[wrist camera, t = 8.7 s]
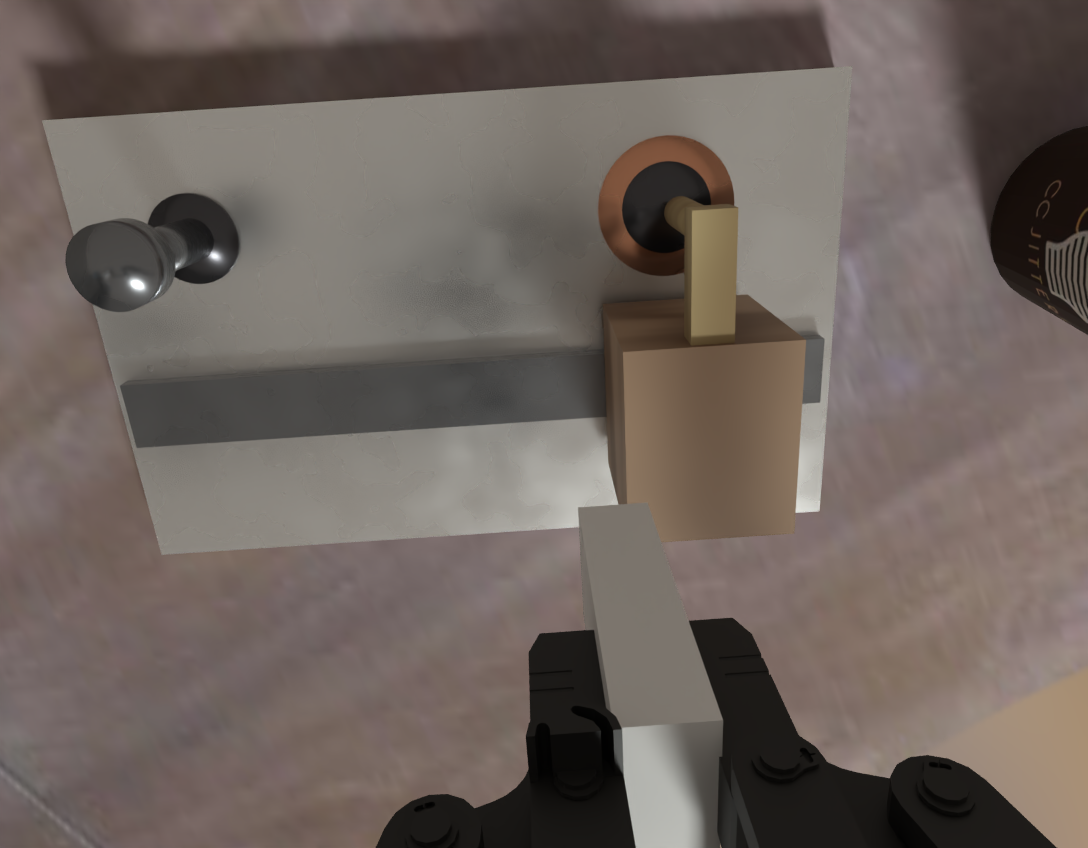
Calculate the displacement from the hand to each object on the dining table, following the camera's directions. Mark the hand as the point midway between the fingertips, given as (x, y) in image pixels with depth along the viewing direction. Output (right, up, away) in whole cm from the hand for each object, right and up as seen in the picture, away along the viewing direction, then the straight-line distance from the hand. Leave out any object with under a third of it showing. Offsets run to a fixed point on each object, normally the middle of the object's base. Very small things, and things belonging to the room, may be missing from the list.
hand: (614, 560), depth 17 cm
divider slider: (+3, +6, +10) cm, 12 cm away
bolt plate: (-4, +7, +12) cm, 15 cm away
